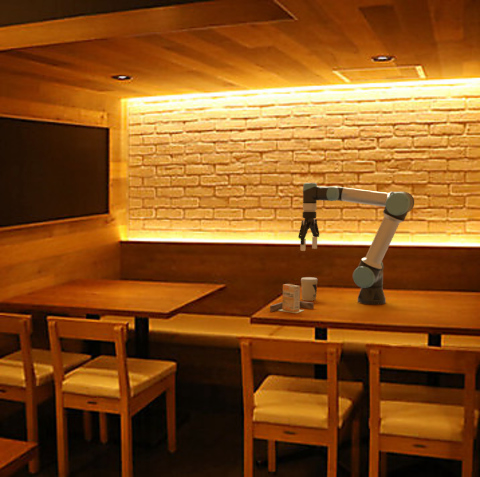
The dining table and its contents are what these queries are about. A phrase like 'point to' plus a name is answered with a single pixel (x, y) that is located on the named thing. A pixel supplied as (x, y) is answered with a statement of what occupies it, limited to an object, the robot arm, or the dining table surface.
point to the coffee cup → (309, 288)
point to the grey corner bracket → (302, 304)
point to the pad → (290, 311)
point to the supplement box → (291, 297)
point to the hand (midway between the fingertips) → (308, 249)
